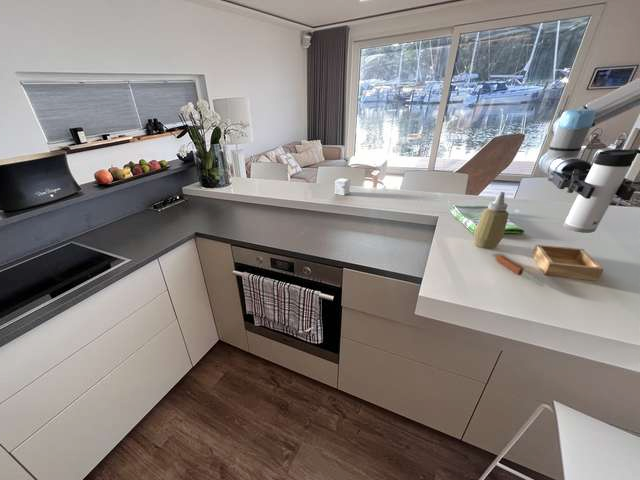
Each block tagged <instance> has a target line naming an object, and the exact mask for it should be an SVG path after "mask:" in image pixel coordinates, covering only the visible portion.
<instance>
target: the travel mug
mask: <svg viewBox="0 0 640 480" xmlns="http://www.w3.org/2000/svg"><path fill="white" fill-rule="evenodd" d="M638 154H639V155H640V149H638V148H633V149H607V150H602V151H599V153H598V154H597V155H596V158H595V160H594V162H593V163H592V167H591V169H590V171H589V173H588V175H587V178H586V180H585V182H587V183H588V184H590V185H592V186H593V187H595V189H594V191H593V193H592V196H591V198H590V199H586V198H584V197H583V196H581V195H580V194H578V193H577V196H576V198H575V199H574V202H573V204H572V206H571V208H570V211H569V213H568V214H567V217H566V219H565V221H564V223H563V227H564V228H565V229H567V230H569V231H571V232H576V233H581V234H591V233H595V232H596V230H597V228H598V226H599V225H600V223H601V221H602V220H603V218H604V216H605V214H606V212H607V210H608V209H609V207H610V205H611V203H612V202H613V199H614V197H616V195H615V194H616V192H617V190H618V189H619V187H620V185H621V183H622V181H623V180H624V178H626V175H628V172H629V171H630V169H631V167H632V164H633V162H634V161H635V159H636V157H637V156H638Z"/></svg>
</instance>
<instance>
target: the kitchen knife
mask: <svg viewBox="0 0 640 480" xmlns="http://www.w3.org/2000/svg"><path fill="white" fill-rule="evenodd" d="M495 260H496V261H497V263H499V264H501V265H502V264H503V266H504V267H506V268H508V269H509V270H511V271H513V272H514V273H516V274H517V275H518V276H524V277H525V278H527V279H528V280H531V281H532V282H534V283H535V284H537V285H538V286H540V287H544V284H543V282H542V281H540V280H539V279H537V278H536V277H535V276H533V275H531V274H530V273H529V272H527V271H526V270H524V268H523V267H521V266H519V265H518V264H517V263H515V262H513V261H511V260H510V259H508V258H506V257H505V256H503V255H497V256H496V257H495Z"/></svg>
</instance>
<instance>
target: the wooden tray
mask: <svg viewBox="0 0 640 480" xmlns="http://www.w3.org/2000/svg"><path fill="white" fill-rule="evenodd" d="M531 256H532V258H533V260H535V262H536V264H537V265H538V267H539V268H540V271H542V273H543V274H544V275H545V276H552V277H560V278H561V277H562V278H568V279H569V278H570V279H575V280H576V279H577V280H585V281H594V282H597V281H598V280H599V279H600V277H601V275H602V273H603V272H604V270H605V269H604V268H603V267H602V266H601V265H600V264H599V263H598V262H597V261H596V260H595V259H594V258H593V257H592V256H591V254H589V253H588V252H587V251H586V250H585V249H584V248H576V247H566V246H555V245H544V244H535V246H534V248H533V250H532V253H531Z"/></svg>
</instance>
